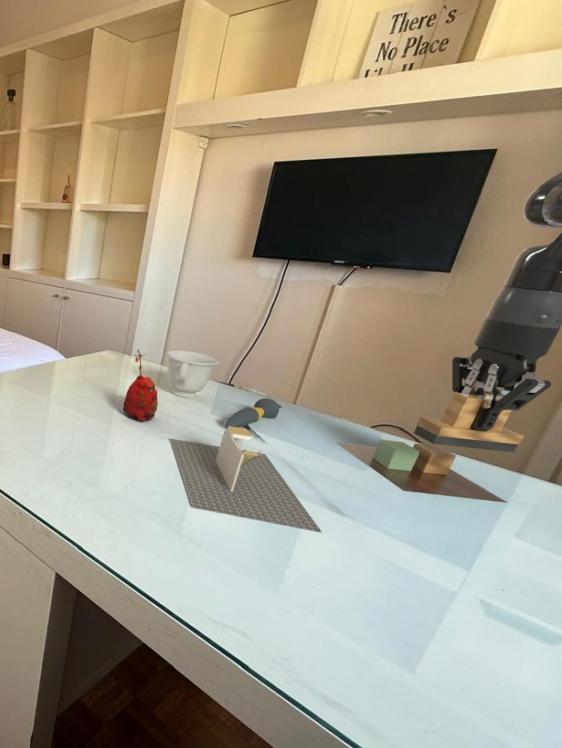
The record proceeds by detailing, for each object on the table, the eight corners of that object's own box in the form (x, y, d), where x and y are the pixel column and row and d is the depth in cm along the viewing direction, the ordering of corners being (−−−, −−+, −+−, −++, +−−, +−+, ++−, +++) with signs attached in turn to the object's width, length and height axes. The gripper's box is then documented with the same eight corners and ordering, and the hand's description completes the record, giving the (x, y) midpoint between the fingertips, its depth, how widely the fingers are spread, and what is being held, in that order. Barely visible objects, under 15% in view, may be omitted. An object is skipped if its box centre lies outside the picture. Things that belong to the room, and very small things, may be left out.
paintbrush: (242, 436, 94) (249, 414, 93) (219, 427, 98) (225, 406, 96) (283, 419, 106) (290, 399, 104) (260, 411, 109) (266, 392, 108)
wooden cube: (428, 464, 85) (437, 445, 84) (446, 475, 82) (456, 455, 80) (406, 462, 86) (414, 443, 84) (422, 472, 82) (432, 453, 81)
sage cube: (394, 460, 86) (403, 441, 84) (411, 471, 82) (420, 451, 81) (372, 458, 86) (380, 439, 85) (387, 468, 82) (396, 449, 81)
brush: (489, 440, 76) (512, 396, 73) (515, 453, 72) (540, 406, 69) (412, 432, 77) (432, 388, 74) (433, 444, 73) (455, 398, 70)
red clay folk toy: (150, 426, 97) (165, 358, 91) (117, 417, 100) (129, 351, 95) (157, 415, 103) (171, 351, 97) (126, 407, 106) (138, 345, 101)
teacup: (150, 396, 114) (158, 358, 111) (165, 382, 126) (173, 347, 122) (201, 409, 108) (211, 369, 104) (212, 394, 119) (222, 357, 116)
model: (234, 464, 82) (246, 426, 80) (252, 495, 73) (266, 453, 70) (215, 461, 83) (226, 423, 80) (230, 491, 73) (243, 449, 71)
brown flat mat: (418, 456, 91) (420, 451, 91) (504, 508, 74) (508, 502, 74) (333, 447, 92) (335, 442, 92) (400, 496, 76) (403, 490, 75)
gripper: (606, 332, 60) (540, 448, 67) (504, 314, 73) (457, 412, 80) (544, 327, 61) (485, 442, 67) (454, 309, 74) (411, 407, 80)
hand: (470, 425), depth 73 cm, fingers closed on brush, 2 cm apart
